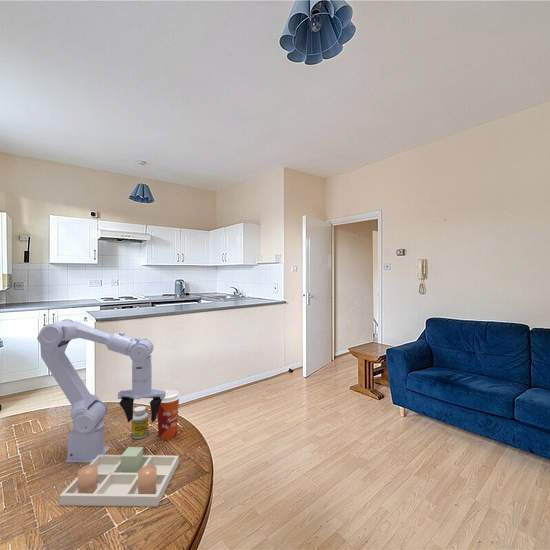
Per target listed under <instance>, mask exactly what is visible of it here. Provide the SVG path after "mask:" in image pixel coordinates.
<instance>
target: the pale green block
mask: <svg viewBox="0 0 550 550" xmlns="http://www.w3.org/2000/svg"><path fill="white" fill-rule="evenodd" d="M120 455H121V473H138V471H139V470H140V469H141V468H142V467H143V455H144V447H143V446H128V447H127V448H126V449H125V451H123V453H122V454H120Z"/></svg>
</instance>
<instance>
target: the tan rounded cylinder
mask: <svg viewBox="0 0 550 550" xmlns="http://www.w3.org/2000/svg"><path fill="white" fill-rule="evenodd" d="M77 477H78V493H86V494H93V493H94V492H95V491H96V489H97V488H98V466H97V465H95V464H91V465H89V464H86V465H85V466H82V467H80V468H79V469H78V471H77Z"/></svg>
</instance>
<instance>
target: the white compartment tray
mask: <svg viewBox="0 0 550 550" xmlns="http://www.w3.org/2000/svg"><path fill="white" fill-rule="evenodd" d="M121 455H122V454H103V455H98V456H97V457H96V458H95V459H94V460H93V461H92V462H89V464H88V465H91V464H95V465H97V466H98V488H97V489H96V491H95V492H94V493H93V494H86V493H78V476H77V477H76V478H75V479H74V480H73V481H72V482H71V483H70V484H69V485H68V486H67V487H66V488H65V489H64V490H63V491H62V492H61V493H60V495H59V501H58V503H59V504H58V505H59V506H62V507H63V506H65V507H66V506H75V507H76V506H77V507H78V506H80V507H81V506H84V507H85V506H87V507H154V508H155V507H156V508H157V507H158V506H159V504H160V502H161V501H162V498H163V497H164V494H165V492H166V490H167V488H168V486H169V485H170V482H171V480H172V478H173V476H174V474H175V472H176V471H177V468H178V466H179V465H180V461H179V460H180V456H179V455H160V454H159V455H155V454H154V455H153V454H152V455H151V454H149V455H144V454H143V467H144V466H147V465H154V466H156V468H157V478H156V494H138V473H121Z"/></svg>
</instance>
